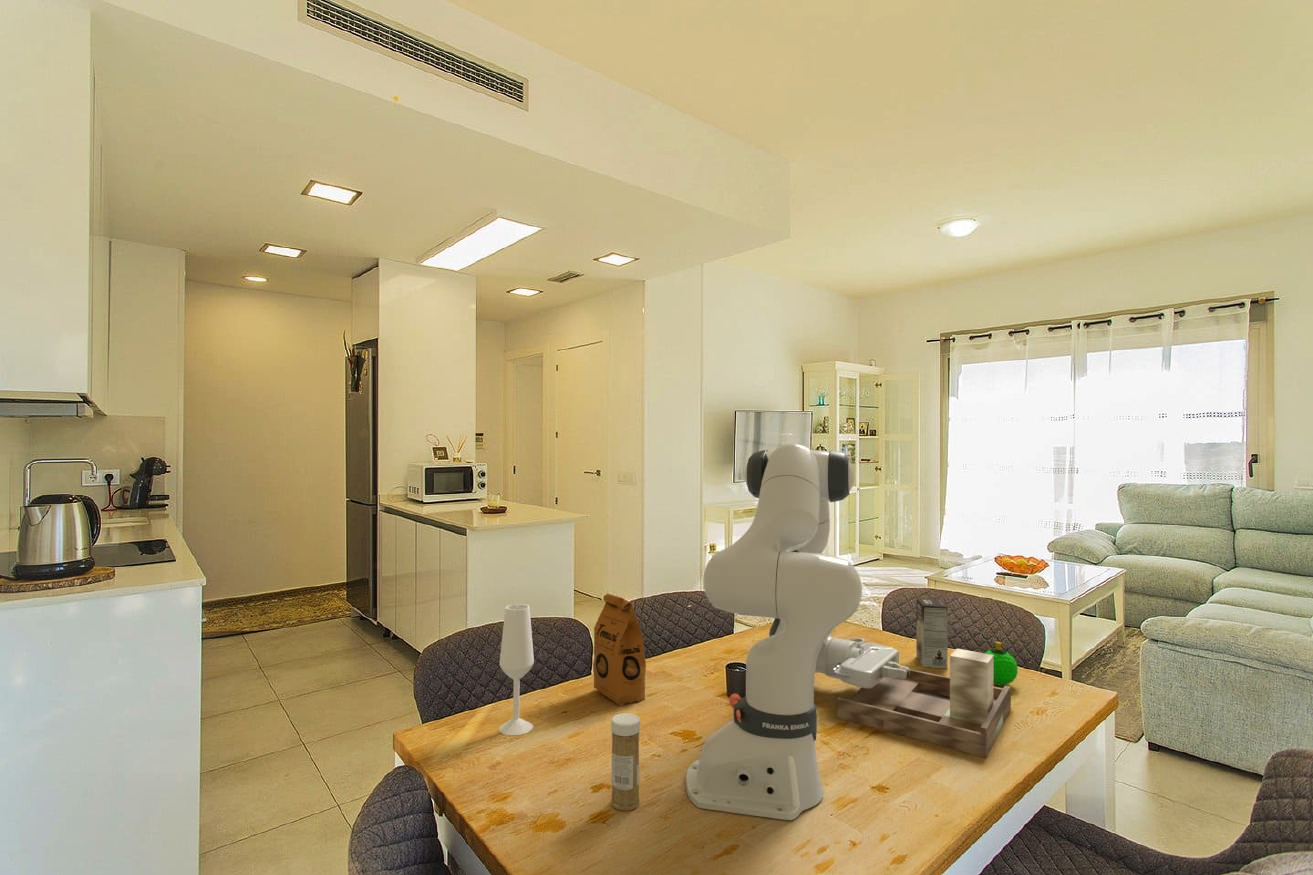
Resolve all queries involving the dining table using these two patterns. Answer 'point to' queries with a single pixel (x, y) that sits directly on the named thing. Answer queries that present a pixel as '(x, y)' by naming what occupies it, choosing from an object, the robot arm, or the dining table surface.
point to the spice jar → (625, 761)
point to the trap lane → (925, 712)
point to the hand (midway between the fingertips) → (907, 673)
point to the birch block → (971, 684)
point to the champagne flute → (516, 659)
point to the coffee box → (932, 632)
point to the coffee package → (619, 652)
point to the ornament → (1003, 666)
